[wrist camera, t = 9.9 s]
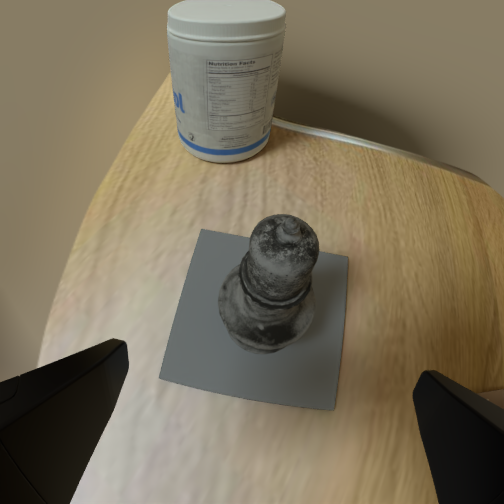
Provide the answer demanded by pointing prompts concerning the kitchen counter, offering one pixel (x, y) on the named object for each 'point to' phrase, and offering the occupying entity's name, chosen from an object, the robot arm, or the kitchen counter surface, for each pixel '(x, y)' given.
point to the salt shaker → (271, 286)
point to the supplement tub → (225, 74)
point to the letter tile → (494, 397)
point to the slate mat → (244, 362)
